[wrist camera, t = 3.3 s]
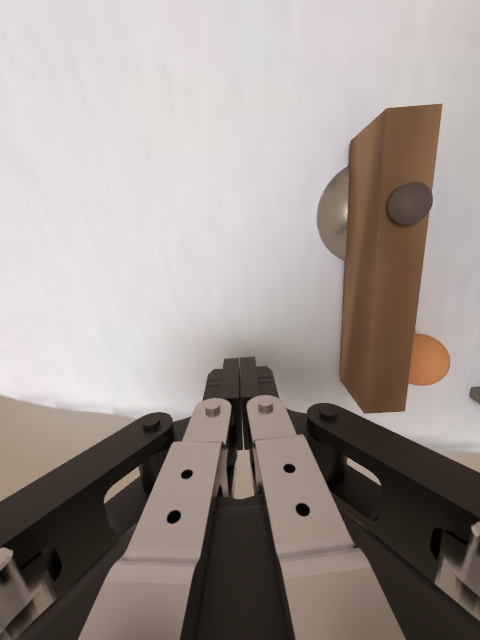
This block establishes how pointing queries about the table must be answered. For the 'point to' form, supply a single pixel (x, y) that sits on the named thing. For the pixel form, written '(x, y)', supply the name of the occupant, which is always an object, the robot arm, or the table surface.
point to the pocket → (475, 394)
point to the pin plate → (334, 214)
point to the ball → (428, 361)
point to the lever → (386, 252)
